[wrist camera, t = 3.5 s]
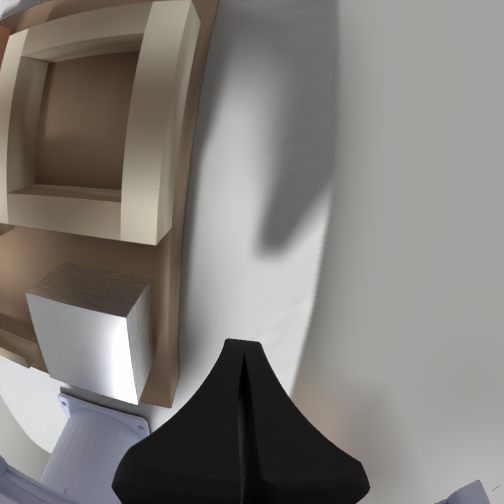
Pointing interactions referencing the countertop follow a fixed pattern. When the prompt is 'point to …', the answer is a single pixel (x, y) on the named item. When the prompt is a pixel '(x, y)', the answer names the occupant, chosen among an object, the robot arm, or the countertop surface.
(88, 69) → the wooden compartment tray
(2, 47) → the terracotta rectangular block
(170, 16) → the collar
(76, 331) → the block
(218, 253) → the countertop surface
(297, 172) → the countertop surface
